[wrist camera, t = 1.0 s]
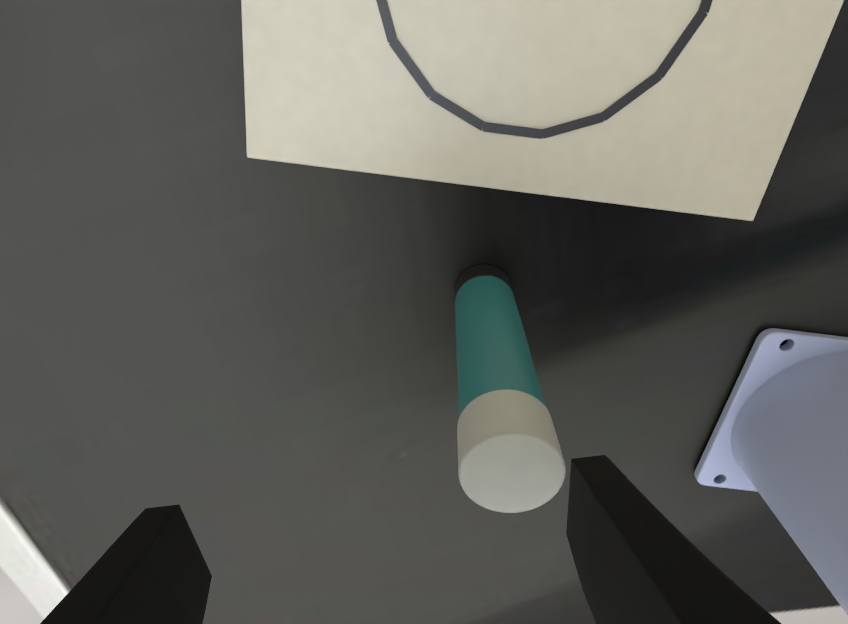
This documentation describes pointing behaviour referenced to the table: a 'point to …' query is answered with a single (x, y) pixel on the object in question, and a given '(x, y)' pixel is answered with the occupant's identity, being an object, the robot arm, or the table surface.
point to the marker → (500, 401)
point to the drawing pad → (538, 93)
